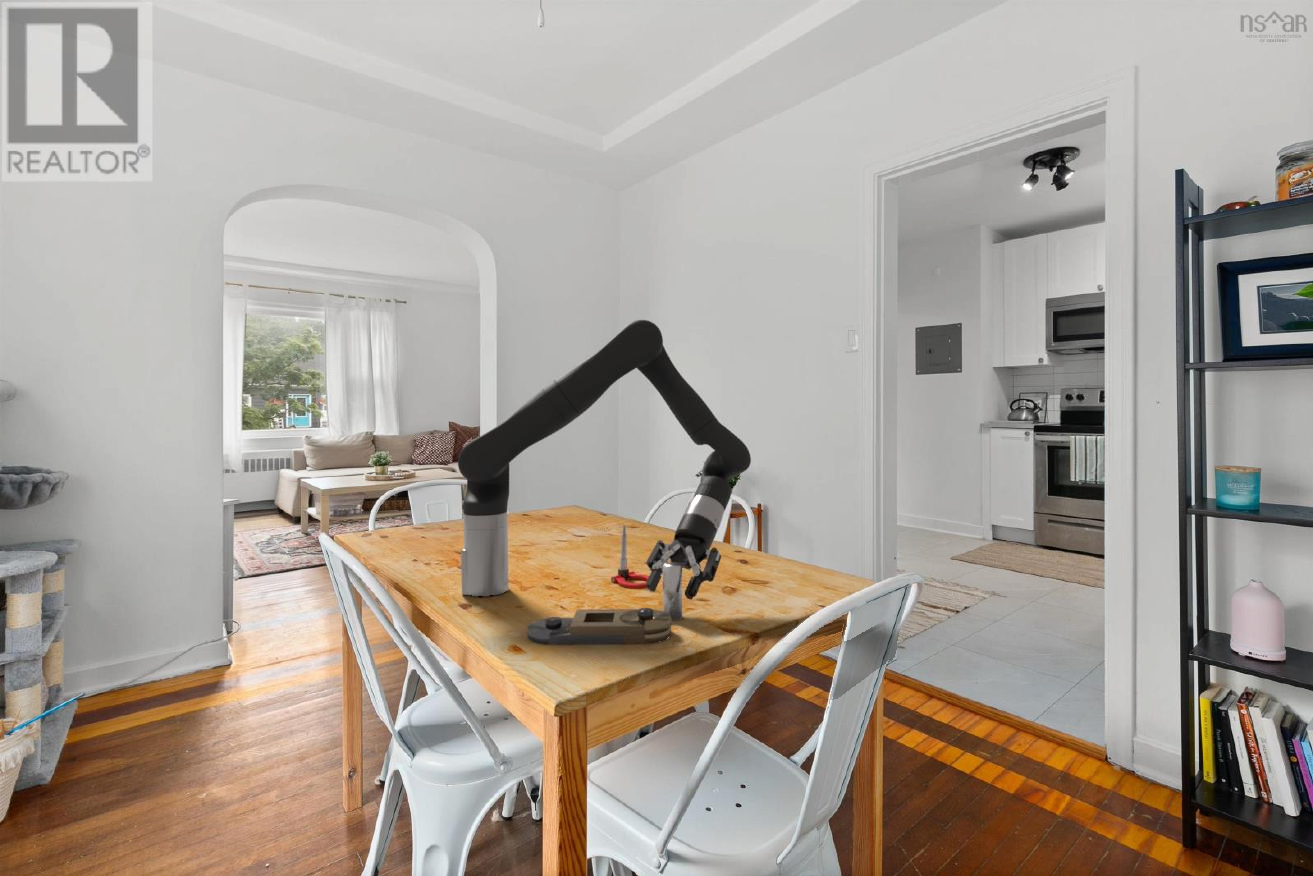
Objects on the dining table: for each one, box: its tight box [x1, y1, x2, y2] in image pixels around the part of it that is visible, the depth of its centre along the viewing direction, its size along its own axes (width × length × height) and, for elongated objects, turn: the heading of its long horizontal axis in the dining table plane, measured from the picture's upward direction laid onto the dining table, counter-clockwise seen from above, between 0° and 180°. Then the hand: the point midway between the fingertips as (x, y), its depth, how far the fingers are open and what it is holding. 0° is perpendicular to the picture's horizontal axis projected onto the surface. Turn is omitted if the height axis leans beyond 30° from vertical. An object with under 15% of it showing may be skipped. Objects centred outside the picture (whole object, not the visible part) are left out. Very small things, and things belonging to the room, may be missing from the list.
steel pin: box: [662, 562, 683, 621], centre depth 118 cm, size 4×4×10 cm
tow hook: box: [610, 524, 650, 589], centre depth 142 cm, size 8×13×9 cm
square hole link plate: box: [526, 607, 672, 645], centre depth 109 cm, size 25×9×4 cm, turn 90°
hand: (668, 593), depth 117 cm, fingers open, 8 cm apart
